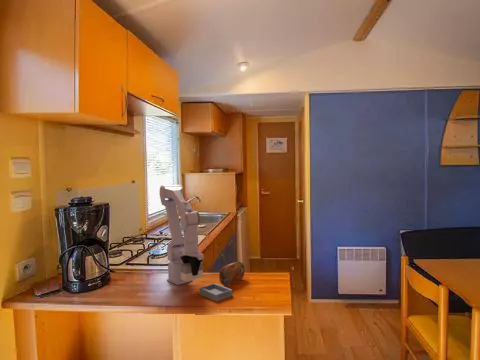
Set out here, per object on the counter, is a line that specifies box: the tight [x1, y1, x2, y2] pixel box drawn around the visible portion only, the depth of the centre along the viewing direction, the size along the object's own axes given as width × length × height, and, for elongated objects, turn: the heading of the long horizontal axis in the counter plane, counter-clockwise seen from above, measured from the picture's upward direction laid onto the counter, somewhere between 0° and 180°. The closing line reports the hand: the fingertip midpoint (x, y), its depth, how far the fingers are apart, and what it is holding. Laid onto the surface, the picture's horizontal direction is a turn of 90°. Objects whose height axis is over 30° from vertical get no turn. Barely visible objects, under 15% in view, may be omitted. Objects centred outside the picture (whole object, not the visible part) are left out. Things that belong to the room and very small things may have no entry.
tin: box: [218, 261, 246, 287], centre depth 152 cm, size 15×3×8 cm, turn 143°
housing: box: [181, 261, 204, 283], centre depth 143 cm, size 4×8×6 cm, turn 132°
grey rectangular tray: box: [199, 282, 233, 302], centre depth 138 cm, size 11×8×2 cm
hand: (191, 274), depth 143 cm, fingers closed on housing, 4 cm apart
